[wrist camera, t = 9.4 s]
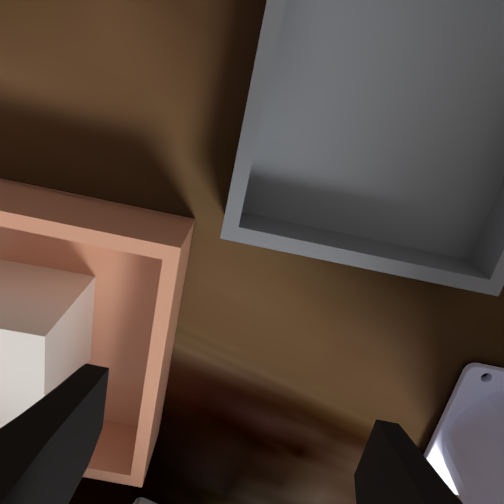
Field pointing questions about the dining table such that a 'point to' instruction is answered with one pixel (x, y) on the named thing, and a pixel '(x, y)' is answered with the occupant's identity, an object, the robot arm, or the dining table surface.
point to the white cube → (41, 332)
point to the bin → (111, 302)
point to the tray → (377, 138)
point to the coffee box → (143, 501)
